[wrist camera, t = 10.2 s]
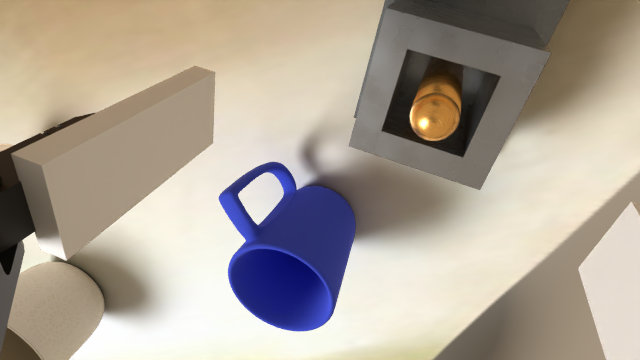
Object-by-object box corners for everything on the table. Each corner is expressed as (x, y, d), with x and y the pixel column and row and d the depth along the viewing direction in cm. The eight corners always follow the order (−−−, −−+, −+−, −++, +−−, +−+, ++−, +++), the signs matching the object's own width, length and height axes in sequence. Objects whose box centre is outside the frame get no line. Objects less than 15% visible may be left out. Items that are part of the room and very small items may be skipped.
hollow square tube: (403, -6, 25) (386, 7, 20) (535, 29, 23) (551, 53, 19) (369, 111, 29) (348, 146, 24) (478, 146, 28) (480, 189, 23)
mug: (315, 120, 32) (261, 182, 24) (382, 237, 36) (355, 325, 28) (242, 155, 36) (174, 217, 28) (308, 256, 40) (266, 338, 32)
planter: (123, 327, 59) (61, 396, 50) (56, 301, 62) (-15, 363, 53) (106, 265, 52) (30, 332, 43) (31, 240, 55) (-55, 298, 46)
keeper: (428, -154, 22) (401, -211, 13) (622, -114, 20) (727, -151, 12) (357, 112, 31) (313, 177, 22) (487, 154, 29) (492, 241, 21)
